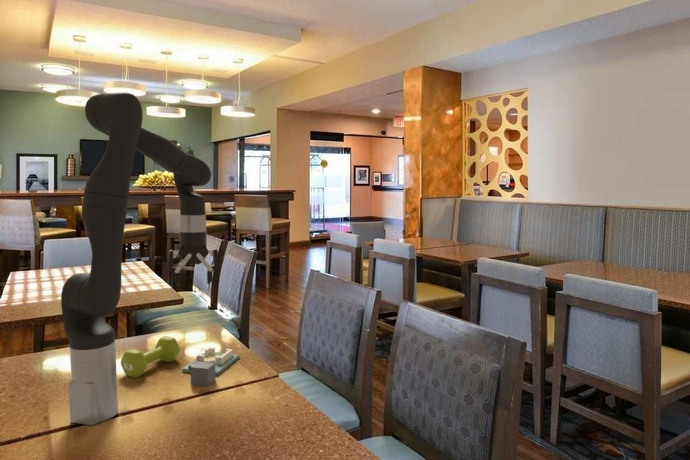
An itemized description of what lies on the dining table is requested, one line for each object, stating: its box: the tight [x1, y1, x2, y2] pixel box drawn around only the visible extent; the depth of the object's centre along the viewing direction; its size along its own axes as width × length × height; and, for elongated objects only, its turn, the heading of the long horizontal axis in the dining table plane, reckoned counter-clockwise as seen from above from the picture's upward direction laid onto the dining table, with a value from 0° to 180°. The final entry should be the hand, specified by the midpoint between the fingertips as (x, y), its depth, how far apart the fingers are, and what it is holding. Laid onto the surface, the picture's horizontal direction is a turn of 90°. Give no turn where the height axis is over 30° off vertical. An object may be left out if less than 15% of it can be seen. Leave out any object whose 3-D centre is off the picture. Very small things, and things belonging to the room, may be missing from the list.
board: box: [181, 346, 241, 377], centre depth 143 cm, size 14×11×3 cm
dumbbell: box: [120, 335, 181, 378], centre depth 140 cm, size 16×8×7 cm, turn 154°
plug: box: [190, 362, 216, 388], centre depth 130 cm, size 4×6×5 cm
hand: (193, 284), depth 144 cm, fingers open, 8 cm apart
